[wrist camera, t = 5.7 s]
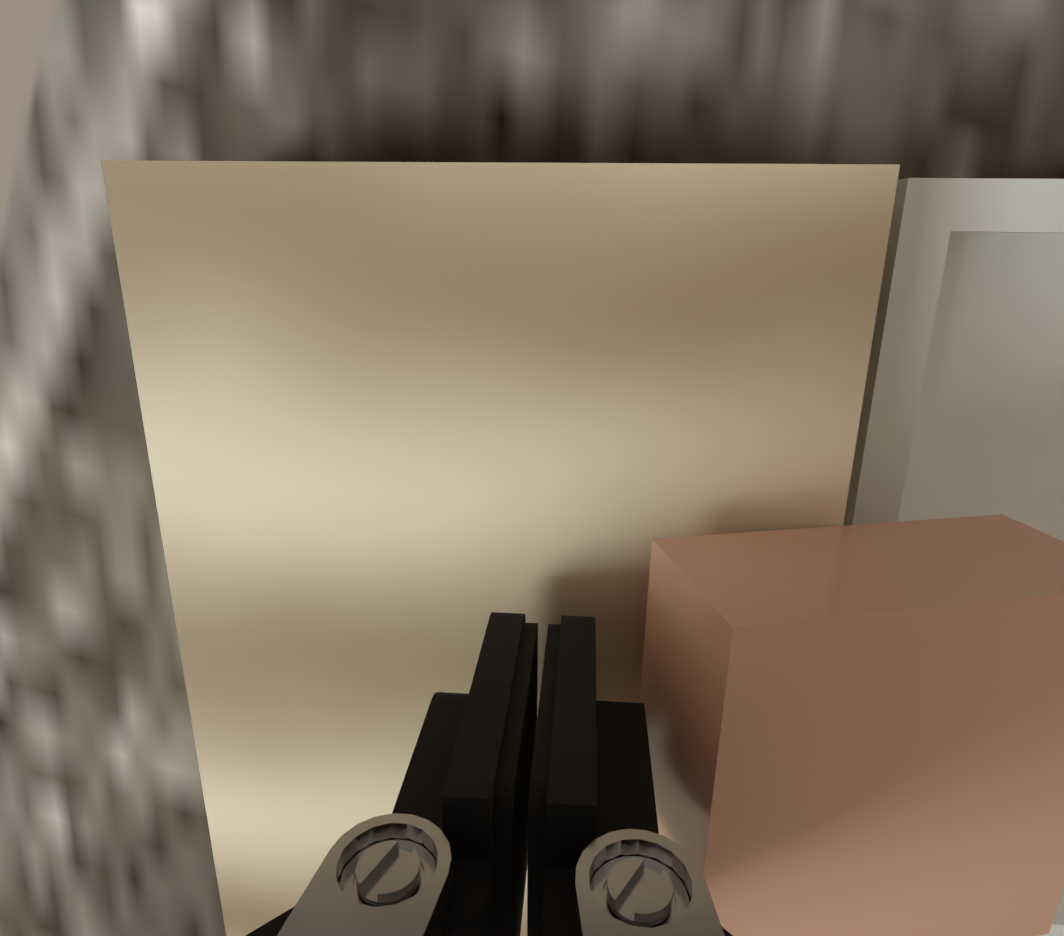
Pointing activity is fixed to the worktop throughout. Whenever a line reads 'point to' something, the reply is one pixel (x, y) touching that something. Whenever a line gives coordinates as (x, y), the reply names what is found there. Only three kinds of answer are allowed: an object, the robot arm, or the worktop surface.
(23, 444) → the worktop surface
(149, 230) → the beige rectangular block
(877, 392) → the box
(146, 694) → the worktop surface
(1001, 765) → the tile
